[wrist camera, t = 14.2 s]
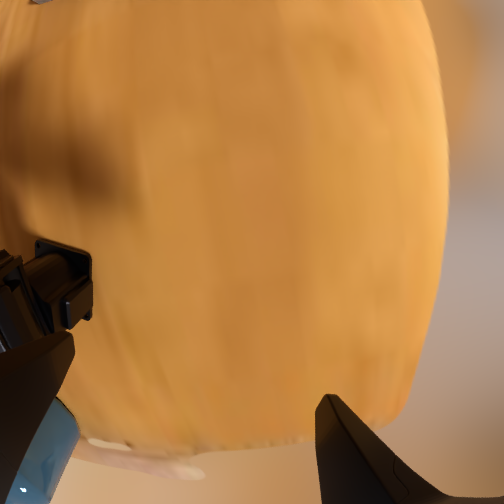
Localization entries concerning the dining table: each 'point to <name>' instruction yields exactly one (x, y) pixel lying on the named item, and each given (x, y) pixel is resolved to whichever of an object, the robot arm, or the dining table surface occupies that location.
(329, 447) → the robot arm
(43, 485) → the wine bottle
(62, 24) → the dining table surface
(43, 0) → the tray
